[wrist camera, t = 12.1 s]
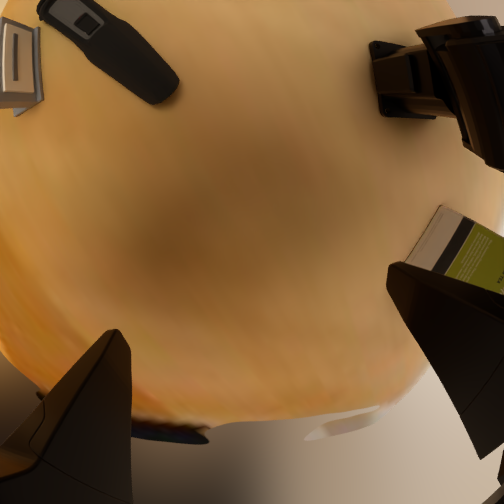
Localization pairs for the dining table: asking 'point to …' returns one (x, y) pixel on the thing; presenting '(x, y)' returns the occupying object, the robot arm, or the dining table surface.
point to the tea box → (461, 250)
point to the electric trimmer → (112, 47)
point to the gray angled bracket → (19, 66)
